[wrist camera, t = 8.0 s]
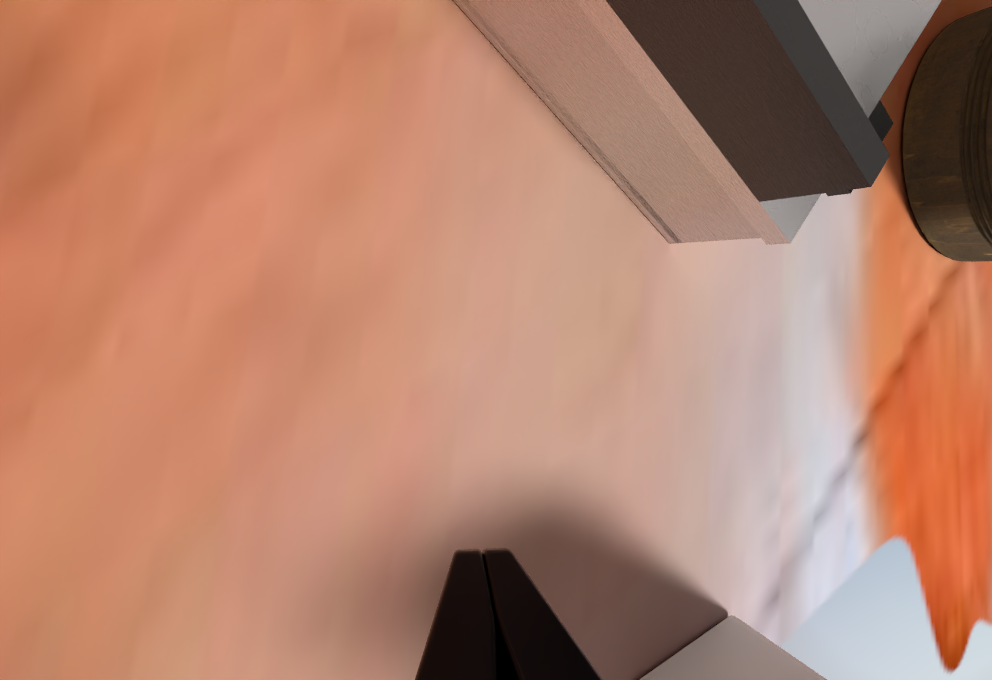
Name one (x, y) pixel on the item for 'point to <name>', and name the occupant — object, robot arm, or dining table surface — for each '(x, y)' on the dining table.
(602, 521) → the dining table surface
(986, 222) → the apothecary jar
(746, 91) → the lid
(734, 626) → the milk carton
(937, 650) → the dining table surface
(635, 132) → the grey recessed tray
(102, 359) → the dining table surface
